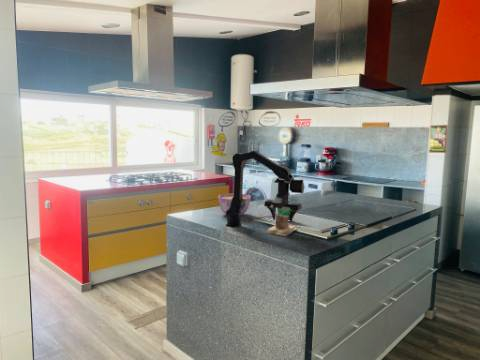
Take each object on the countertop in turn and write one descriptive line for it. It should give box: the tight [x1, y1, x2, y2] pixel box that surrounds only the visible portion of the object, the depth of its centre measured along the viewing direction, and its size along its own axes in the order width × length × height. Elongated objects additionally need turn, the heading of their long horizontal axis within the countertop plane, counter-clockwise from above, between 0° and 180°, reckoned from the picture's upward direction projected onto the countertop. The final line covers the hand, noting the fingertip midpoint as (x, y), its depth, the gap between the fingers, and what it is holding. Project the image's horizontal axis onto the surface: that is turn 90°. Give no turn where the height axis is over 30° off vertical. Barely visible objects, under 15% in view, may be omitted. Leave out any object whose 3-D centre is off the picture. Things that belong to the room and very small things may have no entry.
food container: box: [276, 207, 291, 220], centre depth 216 cm, size 12×6×10 cm, turn 45°
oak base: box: [266, 224, 296, 237], centre depth 193 cm, size 10×14×2 cm
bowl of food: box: [217, 192, 252, 217], centre depth 226 cm, size 20×20×12 cm
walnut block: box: [275, 214, 289, 229], centre depth 193 cm, size 5×5×6 cm
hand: (282, 221), depth 193 cm, fingers open, 9 cm apart
